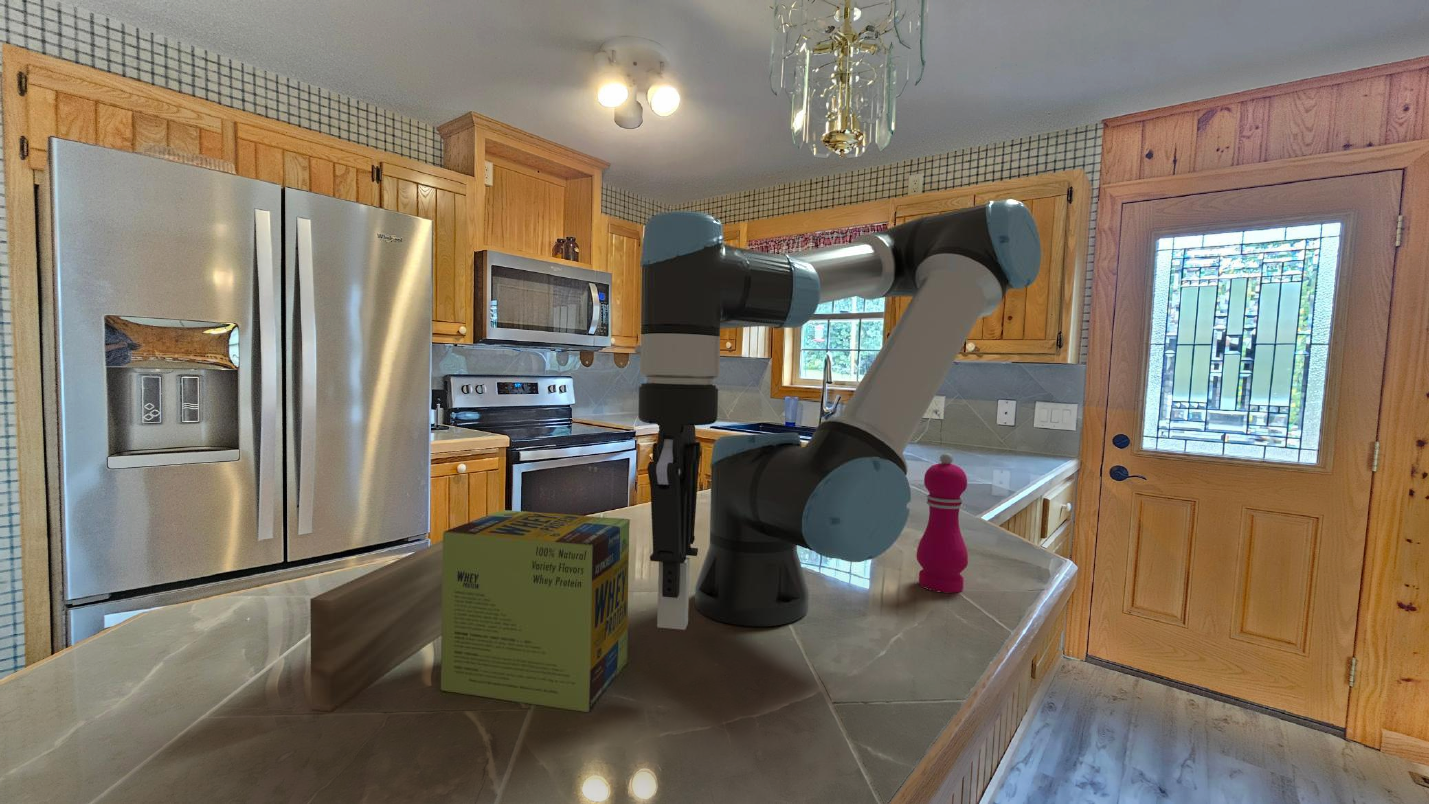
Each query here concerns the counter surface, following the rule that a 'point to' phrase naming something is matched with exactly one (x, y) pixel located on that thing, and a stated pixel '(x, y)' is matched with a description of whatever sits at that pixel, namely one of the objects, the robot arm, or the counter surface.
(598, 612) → the protein box
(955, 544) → the pepper mill
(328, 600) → the board
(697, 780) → the counter surface
